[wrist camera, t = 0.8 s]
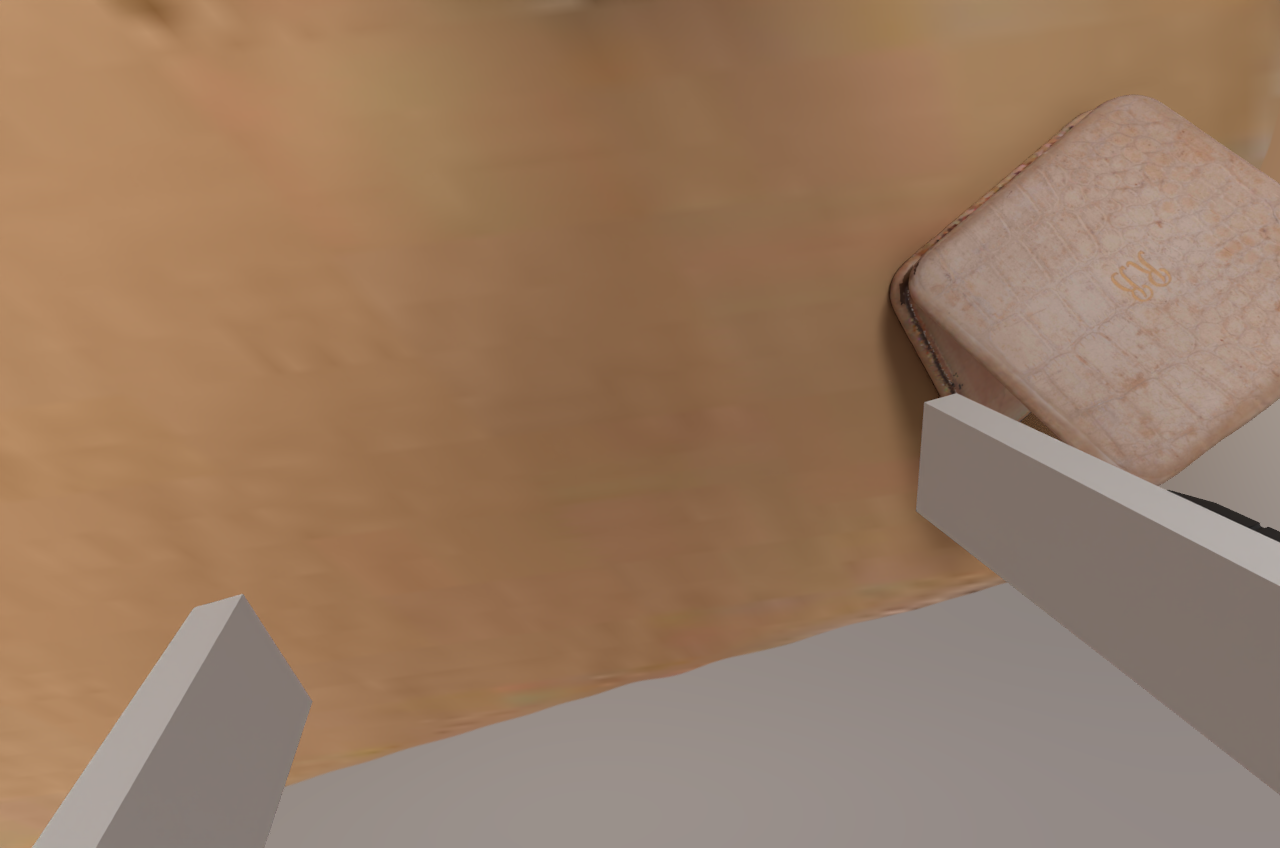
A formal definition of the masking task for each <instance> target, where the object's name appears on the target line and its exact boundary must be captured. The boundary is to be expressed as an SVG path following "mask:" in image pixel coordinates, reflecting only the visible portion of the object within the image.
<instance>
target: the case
mask: <svg viewBox="0 0 1280 848" xmlns="http://www.w3.org/2000/svg"><path fill="white" fill-rule="evenodd" d="M890 299H891V303H892V306H893V309H894V311H895V313H896V315H897V317H898V319H899V321H900V323H901V324H902V326H903V328H904V330H905V332H906V334H907V336H908V338H909V339H910V341H911V343H912V344H913V346H914V348H915V350H916V352H917V354H918V356H919V358H920V359H921V361H922V363H923V365H924V367H925V368H926V370H927V372H928V374H929V375H930V377H931V379H932V381H933V383H934V385H935V387H936V389H937V391H938V393H939V395H940V396H941V397H945V396H948V395H952V394H955V393H957V394H959V395H962V396H964V397H966V398H968V399H970V400H972V401H975V402H977V403H979V404H981V405H983V406H985V407H988V408H990V409H992V410H994V411H996V412H998V413H1001V414H1003V415H1005V416H1007V417H1009V418H1011V419H1014V420H1016V421H1018V422H1021V421H1022V420H1023V419H1024V418H1025V417H1027V416H1028V415H1029V414H1030V413H1031V412H1032V413H1033V414H1034V415H1035V416H1036V417H1037V418H1038V419H1039V420H1040V421H1041V422H1042V423H1043V424H1044V425H1046V427H1048V428H1049V429H1050V430H1051V431H1052V432H1053V433H1054V434H1055V435H1056V436H1057V437H1058V438H1059V439H1060V440H1061V441H1062V442H1063V443H1065V444H1068V445H1070V446H1072V447H1074V448H1076V449H1078V450H1081V451H1083V452H1085V453H1087V454H1089V455H1091V456H1094V457H1096V458H1098V459H1100V460H1102V461H1104V462H1107V463H1109V464H1111V465H1113V466H1115V467H1117V468H1120V469H1122V470H1124V471H1126V472H1128V473H1130V474H1132V475H1135V476H1137V477H1139V478H1141V479H1143V480H1145V481H1148V482H1150V483H1152V484H1154V485H1156V486H1159V485H1161V484H1163V483H1165V482H1166V481H1168V480H1169V479H1171V478H1172V477H1174V476H1175V475H1177V474H1178V473H1180V472H1181V471H1182V470H1184V469H1185V468H1186V467H1187V466H1189V465H1190V464H1191V463H1192V462H1193V461H1195V460H1196V459H1198V458H1199V457H1200V456H1201V455H1203V454H1204V453H1205V452H1206V451H1208V450H1209V449H1211V448H1212V447H1213V446H1215V445H1216V444H1217V443H1218V442H1220V441H1221V440H1222V439H1224V438H1225V437H1227V436H1229V435H1230V434H1232V433H1233V432H1235V431H1236V430H1238V429H1239V428H1241V427H1242V426H1244V425H1245V424H1246V423H1248V422H1249V421H1250V420H1252V419H1253V418H1255V417H1256V416H1257V415H1258V414H1260V413H1261V412H1262V411H1264V410H1266V409H1267V408H1268V407H1269V406H1271V405H1272V404H1273V403H1274V402H1276V401H1277V400H1278V399H1279V398H1280V184H1279V183H1278V182H1276V181H1275V180H1273V179H1272V178H1271V177H1269V176H1268V175H1266V174H1265V173H1263V172H1262V171H1260V170H1259V169H1257V168H1255V167H1254V166H1253V165H1251V164H1250V163H1248V162H1247V161H1246V160H1244V159H1243V158H1241V157H1240V156H1238V155H1237V154H1235V153H1234V152H1232V151H1231V150H1230V149H1228V148H1227V147H1225V146H1224V145H1222V144H1221V143H1219V142H1217V141H1216V140H1215V139H1214V138H1212V137H1211V136H1209V135H1207V134H1206V133H1204V132H1203V131H1202V130H1200V129H1199V128H1198V127H1196V126H1195V125H1193V124H1192V123H1190V122H1189V121H1188V120H1186V119H1185V118H1183V117H1182V116H1180V115H1179V114H1178V113H1176V112H1174V111H1173V110H1171V109H1170V108H1168V107H1167V106H1166V105H1164V104H1163V103H1161V102H1159V101H1158V100H1156V99H1153V98H1150V97H1147V96H1142V95H1124V96H1120V97H1117V98H1114V99H1111V100H1109V101H1107V102H1105V103H1103V104H1101V105H1099V106H1098V107H1097V108H1095V109H1094V110H1090V111H1087V112H1084V113H1082V114H1080V115H1079V116H1077V117H1076V118H1075V119H1073V120H1072V121H1071V122H1070V123H1068V124H1067V125H1066V126H1065V127H1063V128H1062V129H1061V130H1060V131H1059V132H1058V133H1057V134H1056V135H1055V136H1054V137H1052V138H1051V139H1050V140H1049V141H1048V142H1047V143H1045V144H1044V145H1043V146H1041V147H1040V148H1039V149H1038V150H1037V151H1036V152H1035V153H1034V154H1032V155H1031V156H1030V157H1029V158H1028V159H1026V160H1025V161H1024V162H1023V163H1022V164H1020V165H1019V166H1018V167H1017V168H1016V169H1015V170H1014V171H1012V172H1011V173H1010V174H1009V175H1008V176H1007V177H1005V178H1004V179H1003V180H1002V181H1001V182H999V183H998V184H997V185H996V186H995V187H993V188H992V189H991V190H990V191H989V192H987V193H986V194H985V195H984V196H983V197H982V198H981V199H979V200H978V201H977V202H976V203H975V204H973V205H972V206H971V207H970V208H969V209H967V210H966V211H965V212H964V213H962V214H961V215H960V216H959V217H958V218H957V219H955V220H954V221H953V222H952V223H950V224H949V225H948V226H947V227H946V228H945V229H944V230H943V231H942V232H940V233H939V234H938V235H937V236H935V237H934V238H933V239H931V240H930V241H929V242H928V243H927V244H925V245H924V246H923V247H922V248H921V249H919V250H918V251H917V252H916V253H915V254H914V255H913V256H911V257H910V258H909V259H908V260H907V261H906V262H905V263H904V264H903V265H902V266H901V267H900V268H899V269H898V270H897V272H896V274H895V275H894V278H893V280H892V283H891V288H890Z"/></svg>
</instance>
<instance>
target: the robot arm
mask: <svg viewBox="0 0 1280 848" xmlns="http://www.w3.org/2000/svg"><path fill="white" fill-rule="evenodd" d="M916 511H917V512H918V513H919V514H920V515H922V516H923V517H924V518H925V519H927V520H928V521H929V522H931V523H932V524H933V525H934V526H936V527H937V528H938V529H940V530H941V531H942V532H943V533H945V534H946V535H947V536H949V537H950V538H951V539H952V540H954V541H955V542H956V543H958V544H959V545H960V546H961V547H963V548H964V549H965V550H967V551H968V552H969V553H970V554H972V555H973V556H974V557H975V558H977V559H978V560H979V561H981V562H982V563H983V564H984V565H986V566H987V567H988V568H990V569H991V570H992V571H993V572H995V573H996V574H997V575H999V576H1000V577H1001V578H1002V579H1004V580H1005V581H1006V582H1008V583H1009V584H1010V585H1011V586H1013V587H1014V588H1015V589H1017V590H1018V591H1019V592H1021V593H1022V594H1023V595H1024V596H1026V597H1027V598H1028V599H1029V600H1031V601H1032V602H1033V603H1034V604H1036V605H1037V606H1039V607H1040V608H1041V609H1042V610H1044V611H1045V612H1046V613H1047V614H1049V615H1050V616H1051V617H1052V618H1054V619H1055V620H1056V621H1058V622H1059V623H1060V624H1061V625H1063V626H1064V627H1065V628H1067V629H1068V630H1069V631H1070V632H1072V633H1073V634H1074V635H1076V636H1077V637H1078V638H1079V639H1081V640H1082V641H1083V642H1085V643H1086V644H1087V645H1088V646H1090V647H1091V648H1092V649H1093V650H1095V651H1096V652H1097V653H1099V654H1100V655H1101V656H1103V657H1104V658H1105V659H1106V660H1108V661H1109V662H1110V663H1111V664H1113V665H1114V666H1115V667H1117V668H1118V669H1119V670H1120V671H1122V672H1123V673H1124V674H1126V675H1127V676H1128V677H1130V678H1131V679H1132V680H1133V681H1134V682H1136V683H1137V684H1138V685H1140V686H1141V687H1142V688H1143V689H1145V690H1146V691H1147V692H1149V693H1150V694H1151V695H1152V696H1154V697H1155V698H1156V699H1158V700H1159V701H1160V702H1161V703H1163V704H1164V705H1165V706H1167V707H1168V708H1169V709H1170V710H1172V711H1173V712H1174V713H1176V714H1177V715H1179V717H1181V718H1182V719H1183V720H1184V721H1186V722H1187V723H1188V724H1190V725H1191V726H1192V727H1193V728H1195V729H1196V730H1197V731H1199V732H1200V733H1201V734H1203V735H1204V736H1205V737H1206V738H1208V739H1209V740H1210V741H1211V742H1213V743H1214V744H1215V745H1217V746H1218V747H1219V748H1220V749H1222V750H1223V751H1224V752H1226V753H1227V754H1228V755H1229V756H1231V757H1232V758H1233V759H1235V760H1236V761H1237V762H1238V763H1240V764H1241V765H1242V766H1243V767H1245V768H1246V769H1247V770H1249V771H1250V772H1251V773H1252V774H1254V775H1255V776H1256V777H1258V778H1259V779H1260V780H1261V781H1263V782H1264V783H1265V784H1267V785H1268V786H1269V787H1270V788H1272V789H1273V790H1274V791H1276V792H1277V793H1278V794H1280V532H1279V531H1277V530H1274V529H1272V528H1270V527H1267V528H1263V527H1261V526H1260V523H1259V522H1257V521H1254V520H1252V519H1250V518H1248V517H1245V516H1243V515H1241V514H1239V513H1237V512H1234V511H1232V510H1230V509H1228V508H1225V507H1223V506H1221V505H1219V504H1217V503H1214V502H1210V501H1206V500H1203V499H1199V498H1196V497H1192V496H1189V495H1185V494H1181V493H1177V492H1174V491H1170V490H1165V489H1163V488H1161V487H1158V486H1156V485H1154V484H1152V483H1150V482H1148V481H1145V480H1143V479H1141V478H1139V477H1137V476H1135V475H1132V474H1130V473H1128V472H1126V471H1124V470H1122V469H1120V468H1117V467H1115V466H1113V465H1111V464H1109V463H1107V462H1104V461H1102V460H1100V459H1098V458H1096V457H1094V456H1091V455H1089V454H1087V453H1085V452H1083V451H1081V450H1078V449H1076V448H1074V447H1072V446H1070V445H1068V444H1065V443H1063V442H1061V441H1059V440H1057V439H1055V438H1052V437H1050V436H1048V435H1046V434H1044V433H1042V432H1039V431H1037V430H1035V429H1033V428H1031V427H1029V426H1027V425H1024V424H1022V423H1020V422H1018V421H1016V420H1014V419H1011V418H1009V417H1007V416H1005V415H1003V414H1001V413H998V412H996V411H994V410H992V409H990V408H988V407H985V406H983V405H981V404H979V403H977V402H975V401H972V400H970V399H968V398H966V397H964V396H962V395H959V394H957V393H955V394H952V395H948V396H945V397H941V398H938V399H934V400H930V401H927V402H924V412H923V426H922V439H921V452H920V466H919V479H918V493H917V506H916ZM311 704H312V700H311V699H310V697H309V695H308V694H307V692H306V691H305V689H304V688H303V686H302V685H301V683H300V681H299V680H298V678H297V677H296V675H295V674H294V672H293V671H292V669H291V668H290V666H289V664H288V663H287V661H286V660H285V658H284V657H283V655H282V654H281V652H280V651H279V649H278V647H277V646H276V644H275V643H274V641H273V640H272V638H271V637H270V635H269V633H268V632H267V630H266V629H265V627H264V626H263V624H262V623H261V621H260V620H259V618H258V616H257V615H256V613H255V612H254V610H253V609H252V607H251V606H250V604H249V603H248V601H247V599H246V598H245V596H244V595H243V594H241V595H237V596H234V597H230V598H227V599H223V600H219V601H216V602H212V603H209V604H205V605H202V606H198V607H195V608H193V610H192V611H191V613H190V614H189V616H188V617H187V619H186V620H185V622H184V623H183V625H182V626H181V628H180V629H179V631H178V632H177V634H176V635H175V636H174V638H173V639H172V641H171V642H170V644H169V645H168V647H167V648H166V650H165V651H164V653H163V654H162V656H161V657H160V659H159V660H158V662H157V663H156V665H155V666H154V668H153V669H152V671H151V672H150V674H149V675H148V676H147V678H146V679H145V681H144V682H143V684H142V685H141V687H140V688H139V690H138V691H137V693H136V694H135V696H134V697H133V699H132V700H131V702H130V703H129V705H128V706H127V708H126V709H125V711H124V712H123V714H122V715H121V717H120V718H119V719H118V721H117V722H116V724H115V725H114V727H113V728H112V730H111V731H110V733H109V734H108V736H107V737H106V739H105V740H104V742H103V743H102V745H101V746H100V748H99V749H98V751H97V752H96V754H95V755H94V757H93V758H92V760H91V761H90V762H89V764H88V765H87V767H86V768H85V770H84V771H83V773H82V774H81V776H80V777H79V779H78V780H77V782H76V783H75V785H74V786H73V788H72V789H71V791H70V792H69V794H68V795H67V797H66V798H65V800H64V801H63V802H62V804H61V805H60V807H59V808H58V810H57V811H56V813H55V814H54V816H53V817H52V819H51V820H50V822H49V823H48V825H47V826H46V828H45V829H44V831H43V832H42V834H41V835H40V837H39V838H38V840H37V841H36V843H35V844H34V845H33V847H32V848H264V847H265V844H266V841H267V837H268V835H269V832H270V829H271V826H272V823H273V819H274V817H275V813H276V811H277V808H278V804H279V801H280V798H281V795H282V792H283V789H284V786H285V783H286V780H287V777H288V774H289V771H290V768H291V765H292V762H293V759H294V756H295V753H296V750H297V747H298V744H299V741H300V738H301V735H302V732H303V729H304V725H305V722H306V719H307V716H308V713H309V710H310V707H311Z"/></svg>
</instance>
